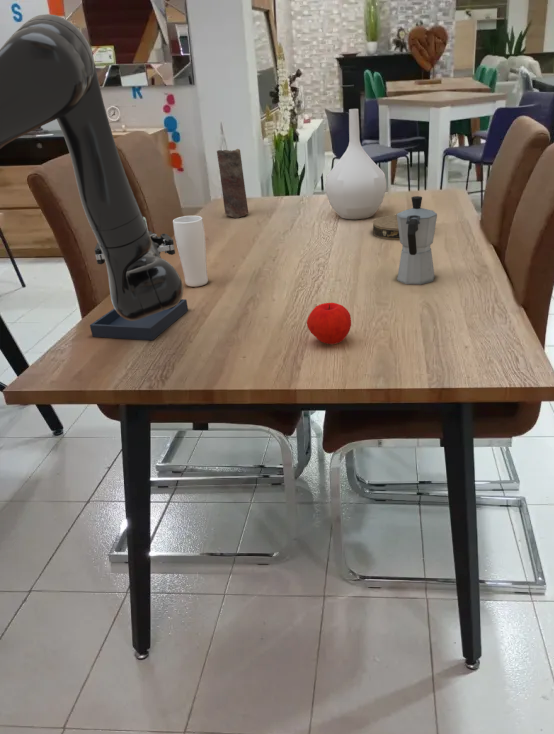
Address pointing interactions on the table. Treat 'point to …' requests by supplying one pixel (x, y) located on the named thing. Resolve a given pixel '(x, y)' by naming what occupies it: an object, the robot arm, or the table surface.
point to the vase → (355, 179)
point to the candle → (232, 183)
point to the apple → (329, 323)
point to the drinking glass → (191, 249)
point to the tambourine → (386, 227)
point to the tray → (137, 324)
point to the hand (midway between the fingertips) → (131, 238)
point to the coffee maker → (416, 243)
